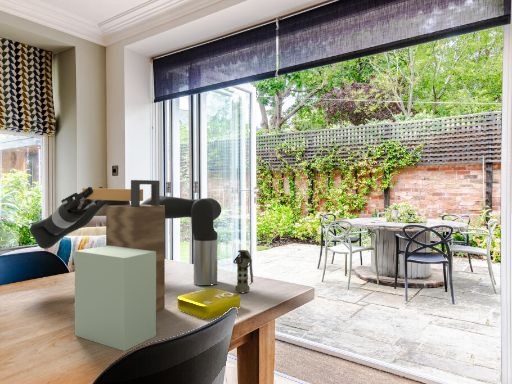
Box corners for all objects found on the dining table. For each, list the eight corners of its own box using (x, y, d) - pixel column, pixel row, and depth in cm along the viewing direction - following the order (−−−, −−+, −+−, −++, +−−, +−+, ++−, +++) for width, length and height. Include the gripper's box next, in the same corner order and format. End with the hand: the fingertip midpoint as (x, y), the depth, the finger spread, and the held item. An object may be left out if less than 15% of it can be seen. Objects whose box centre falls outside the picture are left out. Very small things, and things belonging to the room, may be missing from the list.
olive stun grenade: (230, 294, 130) (231, 251, 130) (240, 289, 137) (240, 248, 136) (246, 296, 127) (246, 253, 127) (256, 291, 134) (256, 250, 133)
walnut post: (106, 312, 110) (106, 205, 110) (137, 302, 121) (137, 204, 120) (134, 320, 104) (134, 207, 104) (164, 308, 115) (164, 205, 114)
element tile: (210, 299, 126) (210, 285, 126) (243, 308, 116) (243, 293, 116) (174, 310, 114) (174, 295, 114) (207, 322, 105) (207, 305, 105)
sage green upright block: (74, 335, 94) (74, 250, 93) (107, 322, 102) (107, 245, 102) (124, 351, 85) (124, 258, 85) (155, 335, 94) (156, 251, 93)
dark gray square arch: (130, 206, 107) (130, 180, 106) (154, 205, 115) (154, 180, 115) (135, 207, 106) (135, 180, 105) (159, 205, 114) (159, 180, 114)
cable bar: (82, 198, 122) (82, 188, 121) (91, 198, 125) (91, 188, 125) (134, 201, 110) (134, 189, 110) (143, 200, 113) (143, 189, 113)
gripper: (45, 204, 123) (73, 178, 115) (83, 203, 135) (111, 179, 128) (52, 224, 121) (81, 200, 114) (90, 221, 133) (118, 198, 126)
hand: (96, 189), depth 121 cm, fingers closed on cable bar, 3 cm apart
